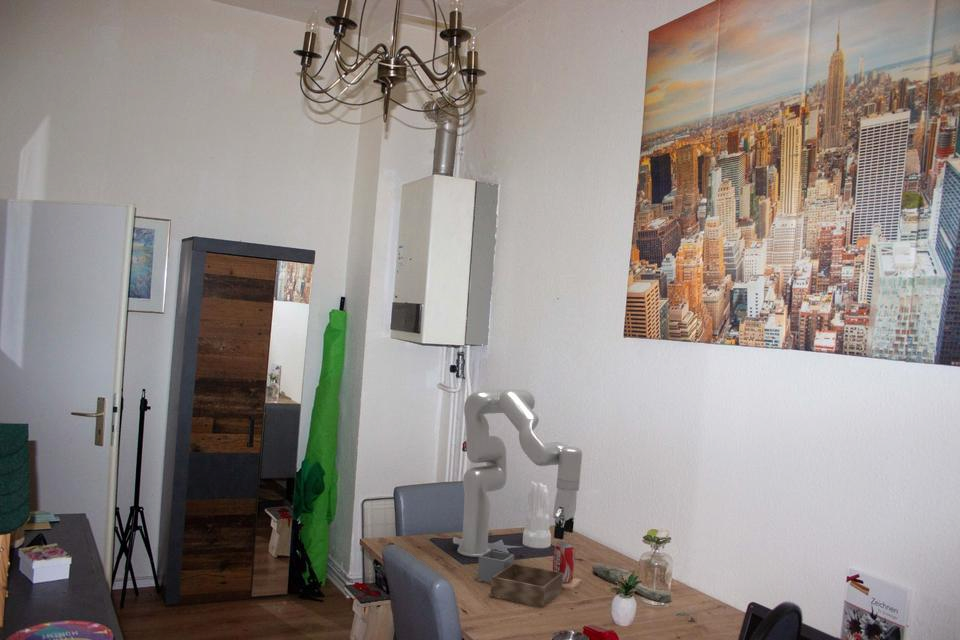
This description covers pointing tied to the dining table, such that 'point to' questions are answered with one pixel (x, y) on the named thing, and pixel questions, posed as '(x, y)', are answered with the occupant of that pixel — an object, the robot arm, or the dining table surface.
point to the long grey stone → (614, 575)
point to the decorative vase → (537, 518)
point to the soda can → (564, 560)
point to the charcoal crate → (493, 564)
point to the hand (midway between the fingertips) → (563, 535)
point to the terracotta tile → (571, 584)
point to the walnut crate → (527, 584)
